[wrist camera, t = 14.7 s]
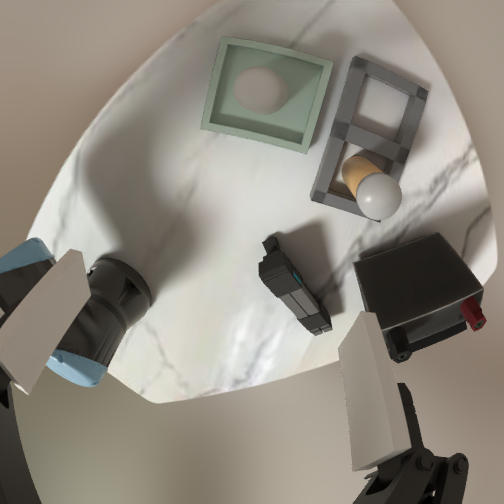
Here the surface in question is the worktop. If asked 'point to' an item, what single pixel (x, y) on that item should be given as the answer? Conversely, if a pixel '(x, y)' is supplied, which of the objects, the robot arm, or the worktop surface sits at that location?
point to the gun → (292, 289)
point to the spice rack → (368, 148)
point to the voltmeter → (420, 294)
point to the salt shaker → (261, 90)
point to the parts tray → (276, 124)
